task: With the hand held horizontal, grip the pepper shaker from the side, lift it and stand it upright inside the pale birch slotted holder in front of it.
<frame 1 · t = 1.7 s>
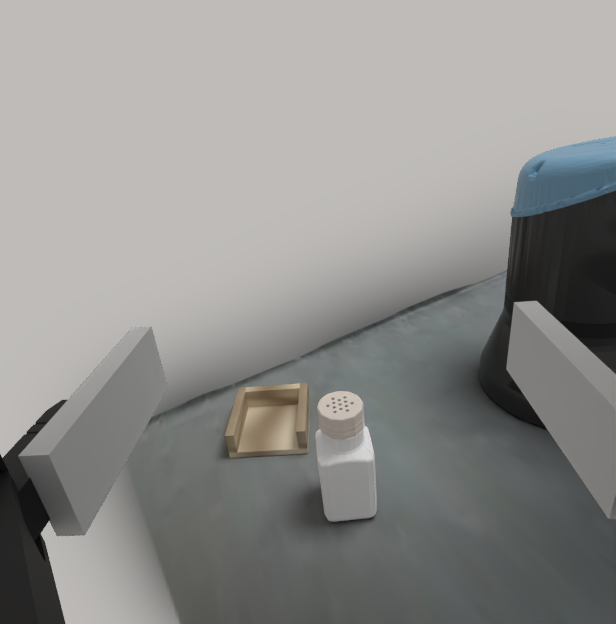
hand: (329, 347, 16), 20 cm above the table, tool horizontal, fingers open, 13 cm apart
holder: (272, 428, 43), on the table
pepper shaker: (349, 503, 35), on the table
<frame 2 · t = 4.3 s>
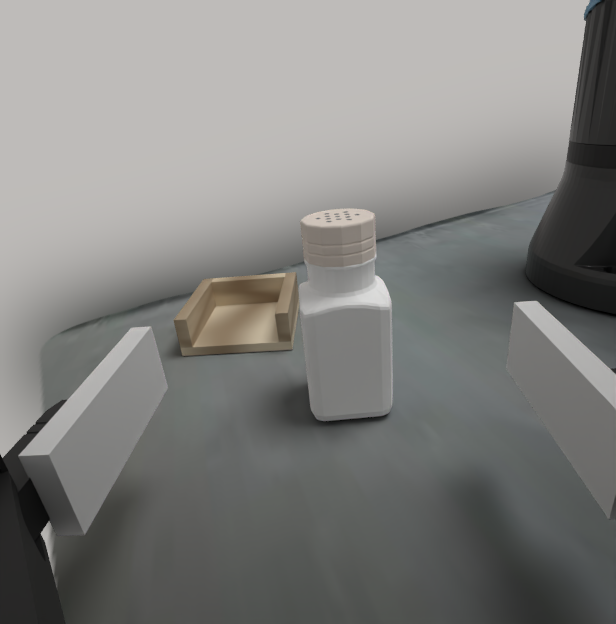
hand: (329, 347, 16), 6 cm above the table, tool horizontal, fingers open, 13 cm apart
holder: (246, 327, 31), on the table
pepper shaker: (349, 401, 23), on the table
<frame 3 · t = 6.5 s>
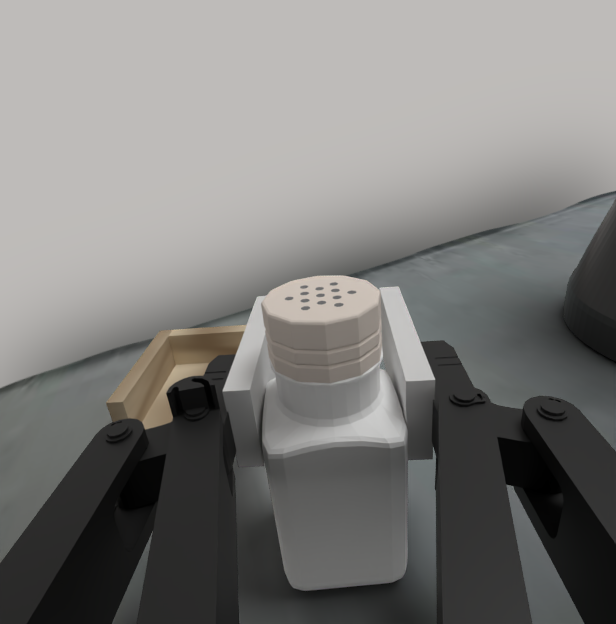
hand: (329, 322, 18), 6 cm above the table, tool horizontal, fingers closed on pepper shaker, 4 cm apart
holder: (211, 397, 24), on the table
pepper shaker: (342, 543, 16), on the table, touching gripper
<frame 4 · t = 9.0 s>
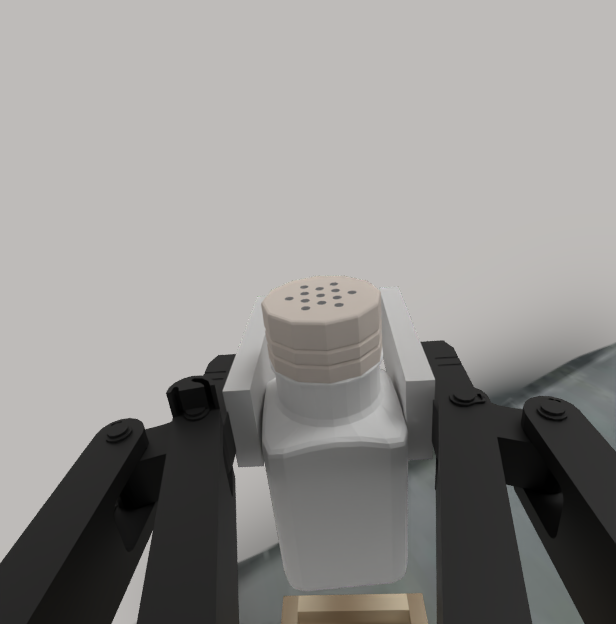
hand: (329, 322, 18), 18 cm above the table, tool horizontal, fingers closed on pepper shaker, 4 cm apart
pepper shaker: (342, 543, 16), point 11 cm above the table, touching gripper
when the fingers open (8 cm above the table, at t = 11.3 s): pepper shaker drops 2 cm, resting on holder.
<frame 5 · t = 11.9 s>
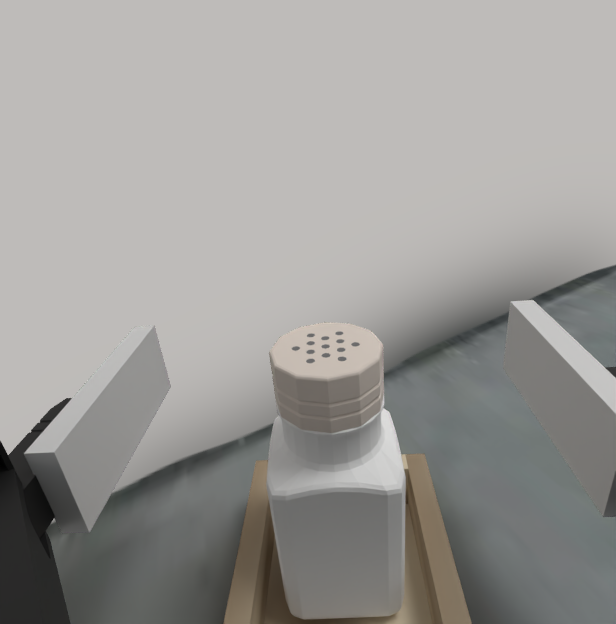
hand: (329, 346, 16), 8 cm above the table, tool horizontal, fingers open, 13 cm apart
holder: (345, 578, 17), on the table
pepper shaker: (343, 572, 16), resting on holder
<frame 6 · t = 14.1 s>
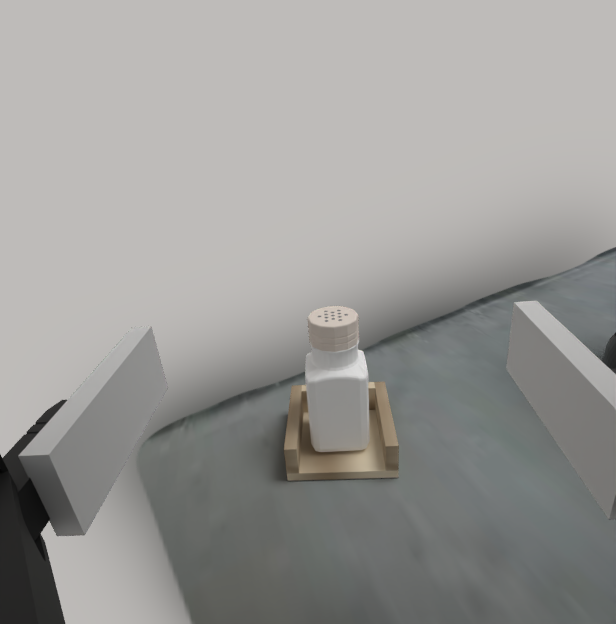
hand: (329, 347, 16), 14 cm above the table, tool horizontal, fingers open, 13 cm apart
holder: (340, 441, 32), on the table
pepper shaker: (339, 437, 32), resting on holder
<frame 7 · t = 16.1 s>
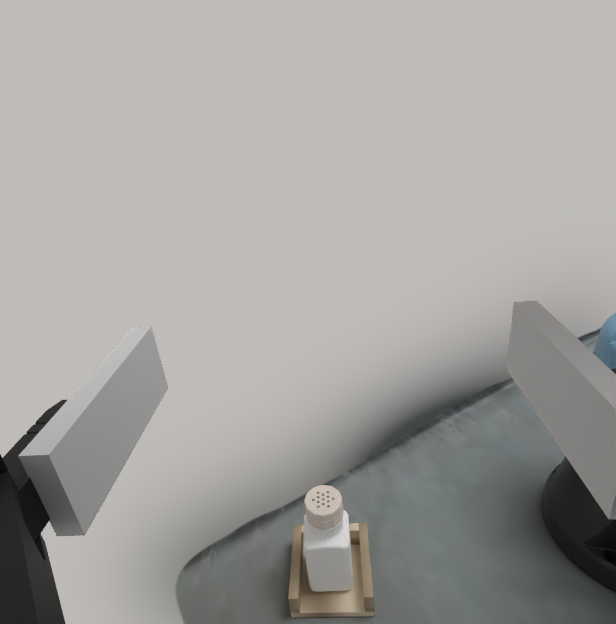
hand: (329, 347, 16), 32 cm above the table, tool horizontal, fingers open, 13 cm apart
holder: (332, 576, 41), on the table
pepper shaker: (331, 574, 41), resting on holder
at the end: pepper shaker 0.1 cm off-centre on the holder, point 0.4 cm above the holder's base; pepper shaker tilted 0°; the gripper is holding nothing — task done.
